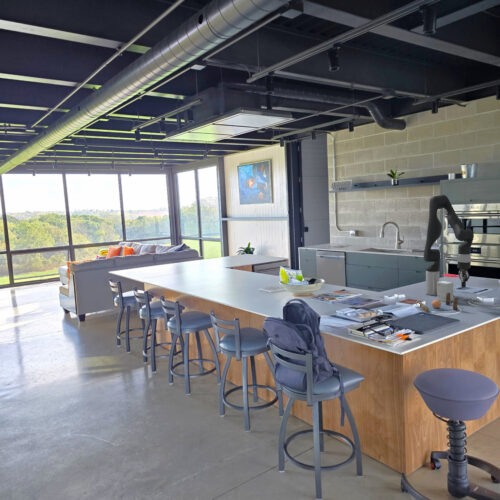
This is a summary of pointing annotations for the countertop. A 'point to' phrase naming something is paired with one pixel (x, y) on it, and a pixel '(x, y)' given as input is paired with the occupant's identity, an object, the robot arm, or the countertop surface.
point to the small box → (444, 290)
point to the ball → (436, 304)
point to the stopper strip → (423, 306)
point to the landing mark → (438, 308)
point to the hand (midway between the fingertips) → (463, 287)
